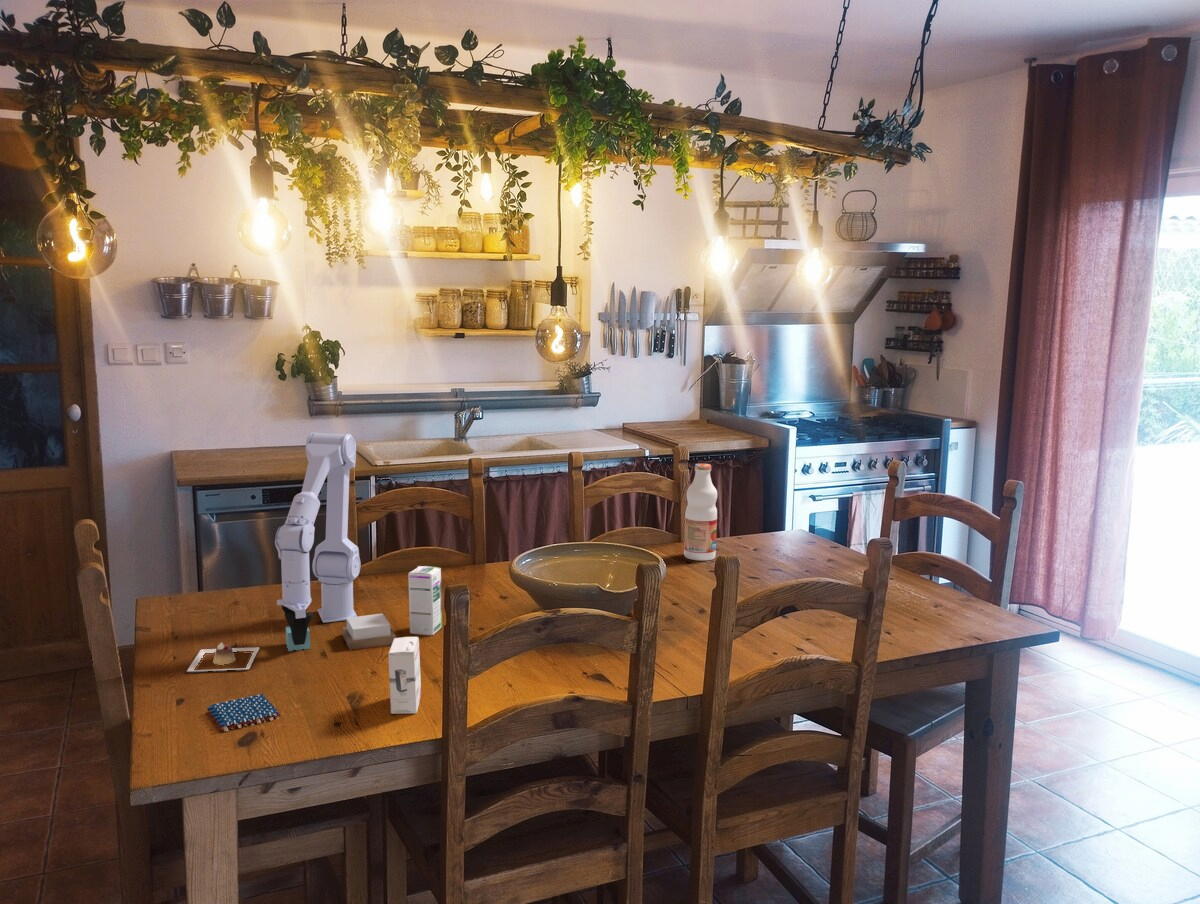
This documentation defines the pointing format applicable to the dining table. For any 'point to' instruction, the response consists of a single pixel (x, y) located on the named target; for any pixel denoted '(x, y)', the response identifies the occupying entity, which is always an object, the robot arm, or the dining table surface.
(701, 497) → the fruit juice
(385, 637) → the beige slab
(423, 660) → the dining table surface
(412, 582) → the syrup box
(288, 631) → the teal cube
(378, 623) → the white slab
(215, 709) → the woven mat
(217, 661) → the dessert
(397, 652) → the ink box
